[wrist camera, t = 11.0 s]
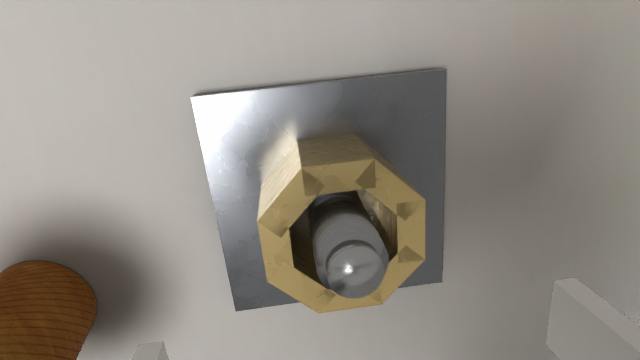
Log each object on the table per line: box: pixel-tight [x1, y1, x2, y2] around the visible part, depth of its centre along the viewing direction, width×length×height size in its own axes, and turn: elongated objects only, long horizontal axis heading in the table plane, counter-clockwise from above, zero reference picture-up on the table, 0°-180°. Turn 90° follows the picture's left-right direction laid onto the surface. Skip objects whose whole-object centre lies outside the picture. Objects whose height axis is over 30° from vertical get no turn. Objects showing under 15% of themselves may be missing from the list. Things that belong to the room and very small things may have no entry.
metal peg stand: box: [191, 68, 447, 311], centre depth 20 cm, size 14×14×9 cm
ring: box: [257, 134, 425, 313], centre depth 21 cm, size 8×8×5 cm
